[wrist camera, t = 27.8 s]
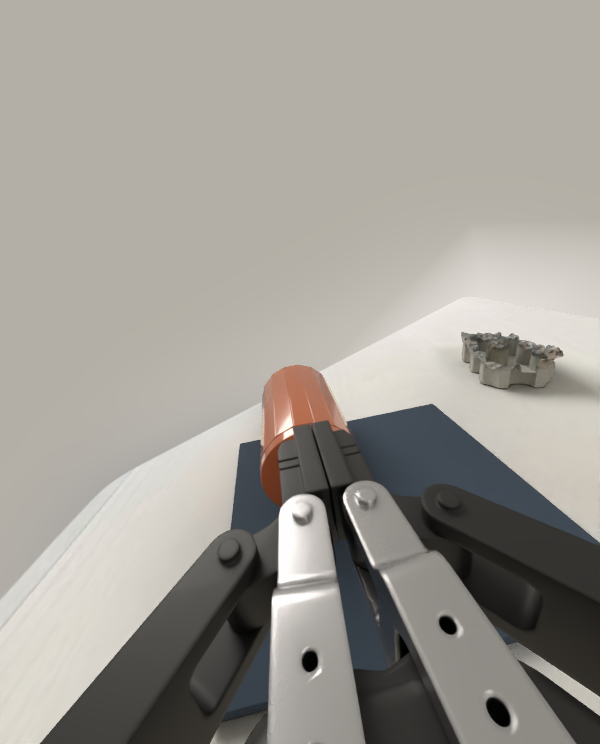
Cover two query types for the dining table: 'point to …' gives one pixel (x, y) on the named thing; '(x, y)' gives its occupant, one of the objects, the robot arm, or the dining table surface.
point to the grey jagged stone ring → (508, 359)
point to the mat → (400, 477)
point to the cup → (292, 416)
